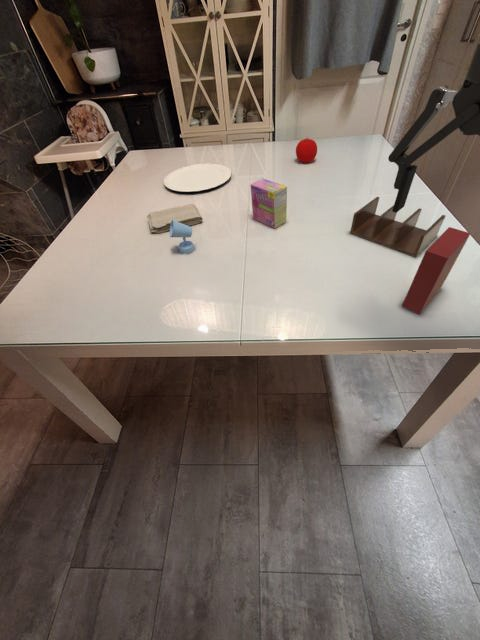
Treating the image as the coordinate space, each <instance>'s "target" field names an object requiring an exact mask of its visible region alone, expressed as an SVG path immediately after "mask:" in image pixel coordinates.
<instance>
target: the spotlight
mask: <svg viewBox="0 0 480 640" xmlns="http://www.w3.org/2000/svg"><path fill="white" fill-rule="evenodd" d="M192 235H193V227H191V226H190V225H189V226H187V225H184V224H182V223H179V222H177V221H174V220H172V221H171V225H170V230H169V238H182V240H183V241H181V242H180V243H179V244H178V250H179V252H180V254H183V255H187V254H190V253H192V252H194V250H195V246H194V243H193V241H191V240H187V239H186V238H192Z"/></svg>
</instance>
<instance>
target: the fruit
mask: <svg viewBox="0 0 480 640" xmlns="http://www.w3.org/2000/svg"><path fill="white" fill-rule="evenodd" d="M317 153H318V145H317V143H316V141H315V139H312V138H309V137H308V136H306V138H304V139H301V140H300V141H298V142H297V145H296V147H295V156H296V158H297V160H298V161H299V162H300V163H305V164H310V163H311V162H313V161H314V160H315V158H316V156H317V155H318V154H317Z"/></svg>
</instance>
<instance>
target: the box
mask: <svg viewBox="0 0 480 640" xmlns="http://www.w3.org/2000/svg"><path fill="white" fill-rule="evenodd" d="M250 195H251V208H252V219H253V220H255V221H257V222H259V223H262V224H264V225H266V226H269V227H270V228H273V229H276V228H278V227H280V226H282V225H283V224H285V223H286V222H287V211H288V210H287V209H288V200H287V199H288V186H287V185H284V184H281V183H278V182H276V181H272V180H269V179H266V178H259V179H258V180H256V181H254V182H252V183H251V184H250Z"/></svg>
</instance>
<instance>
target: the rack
mask: <svg viewBox="0 0 480 640" xmlns="http://www.w3.org/2000/svg"><path fill="white" fill-rule="evenodd" d="M379 201H380V196H376V197H374V199H372V200H371V201H369V202H368V203H366V204H365V205H364V206H362V207H360V209H358V210H357V211H356V212H353V218H352V221H351V227H350V232H349V233H350V235H352V236H355V237H358V238H361V239H363V240H366V241H370V242H371V243H375V244H378V245H381V246H383V247H386V248H389V249H392V250H394V251H397V252H399V253H401V254H402V253H403V254H405V255H408V256H410V257H413V258H417V257H418V256H419V255H420V254H421V253H422V252H423V251H424V250H425V249H426V248H427V247H428V246H429V245H430V244H431V243H432V242H433V241H434V240H435V239H436V238H437V236H438V234H439V231H440V229H441V228H442V225H443V223H444V220H445V218H446V215H445V214H442V215H441V216H439V218H438V219H437V220H436V221H434V222H433V223H432V225H431V226H429V228H427V229H423V228H420V227H418V226H417V223H418V221H419V217H420V215H421V213H422V208H418V209H416V210H415V211H414V212H413V213H412V214H411V215H410V216H408V217H407V218H406V219H405V220H404V221H402V222H401V221H398V220H396V217H397V214H398V212H397V213H396V212H392V210H393V207H394V204H393V205H392V206H390V207H389V208H388V209H387V210H386V211H385V212H383V213H382V214H381V215H379V214H376V213H377V208H378V206H379V205H378V204H379Z"/></svg>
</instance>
